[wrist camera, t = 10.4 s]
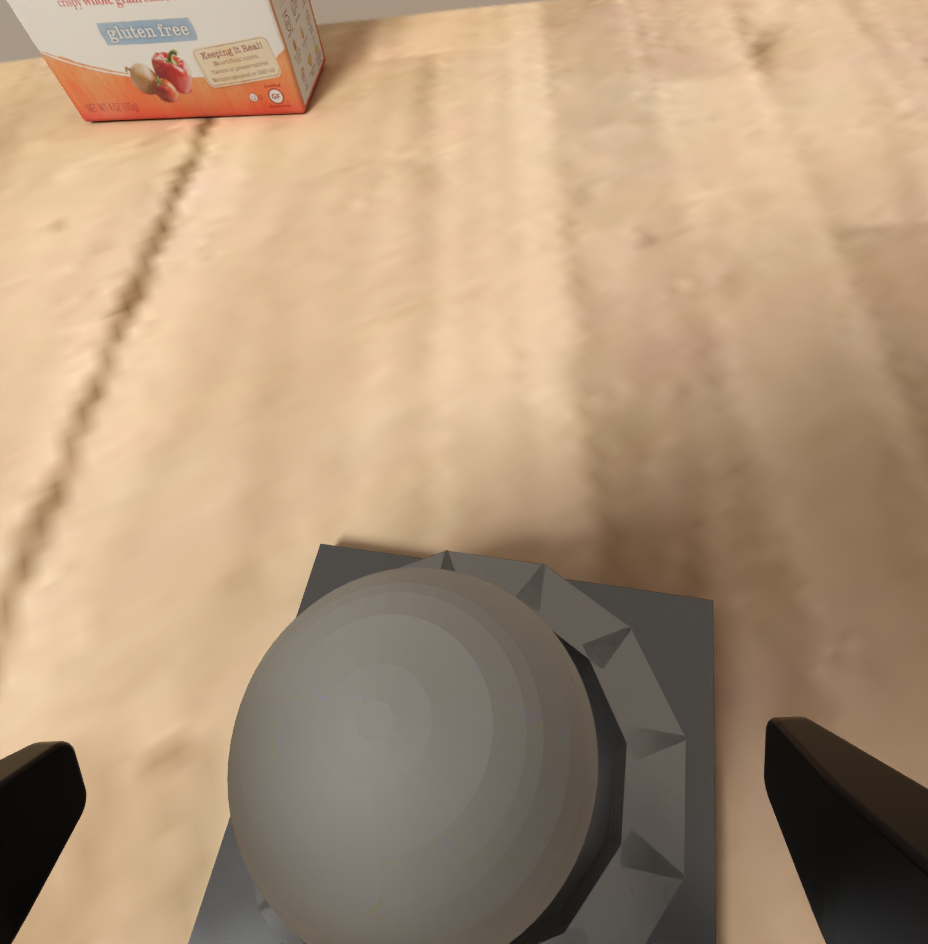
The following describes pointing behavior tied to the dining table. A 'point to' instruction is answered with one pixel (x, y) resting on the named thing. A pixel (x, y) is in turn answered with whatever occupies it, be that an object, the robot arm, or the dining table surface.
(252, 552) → the dining table surface
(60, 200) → the dining table surface
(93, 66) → the cracker box
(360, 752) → the light bulb
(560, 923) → the bulb holder
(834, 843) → the robot arm
